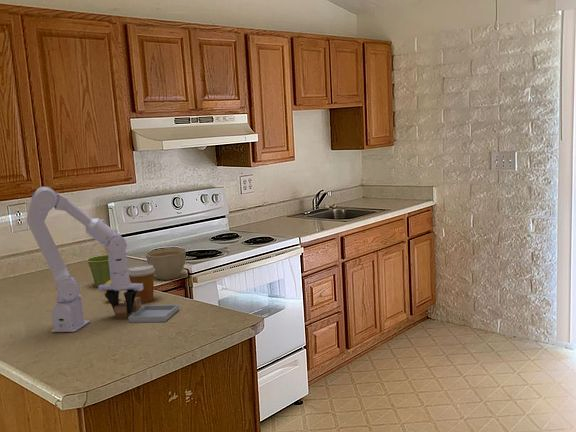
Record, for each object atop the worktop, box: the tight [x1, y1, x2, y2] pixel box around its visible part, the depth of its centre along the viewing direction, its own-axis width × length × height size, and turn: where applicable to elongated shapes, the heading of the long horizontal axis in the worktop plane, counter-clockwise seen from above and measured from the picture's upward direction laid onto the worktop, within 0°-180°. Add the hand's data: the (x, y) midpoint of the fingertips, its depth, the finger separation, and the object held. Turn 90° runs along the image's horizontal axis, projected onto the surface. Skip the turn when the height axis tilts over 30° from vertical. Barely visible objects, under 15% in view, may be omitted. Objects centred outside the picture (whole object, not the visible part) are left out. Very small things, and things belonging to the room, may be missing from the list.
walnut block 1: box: [113, 302, 134, 320], centre depth 185 cm, size 4×4×4 cm
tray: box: [127, 304, 180, 324], centre depth 184 cm, size 12×12×2 cm
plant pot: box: [85, 254, 111, 288], centre depth 230 cm, size 12×12×11 cm
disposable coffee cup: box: [128, 264, 155, 304], centre depth 202 cm, size 10×10×12 cm
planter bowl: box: [145, 247, 187, 281], centre depth 235 cm, size 16×16×11 cm
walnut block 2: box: [123, 297, 143, 313], centre depth 192 cm, size 4×4×4 cm
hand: (123, 312), depth 185 cm, fingers closed on walnut block 1, 4 cm apart
